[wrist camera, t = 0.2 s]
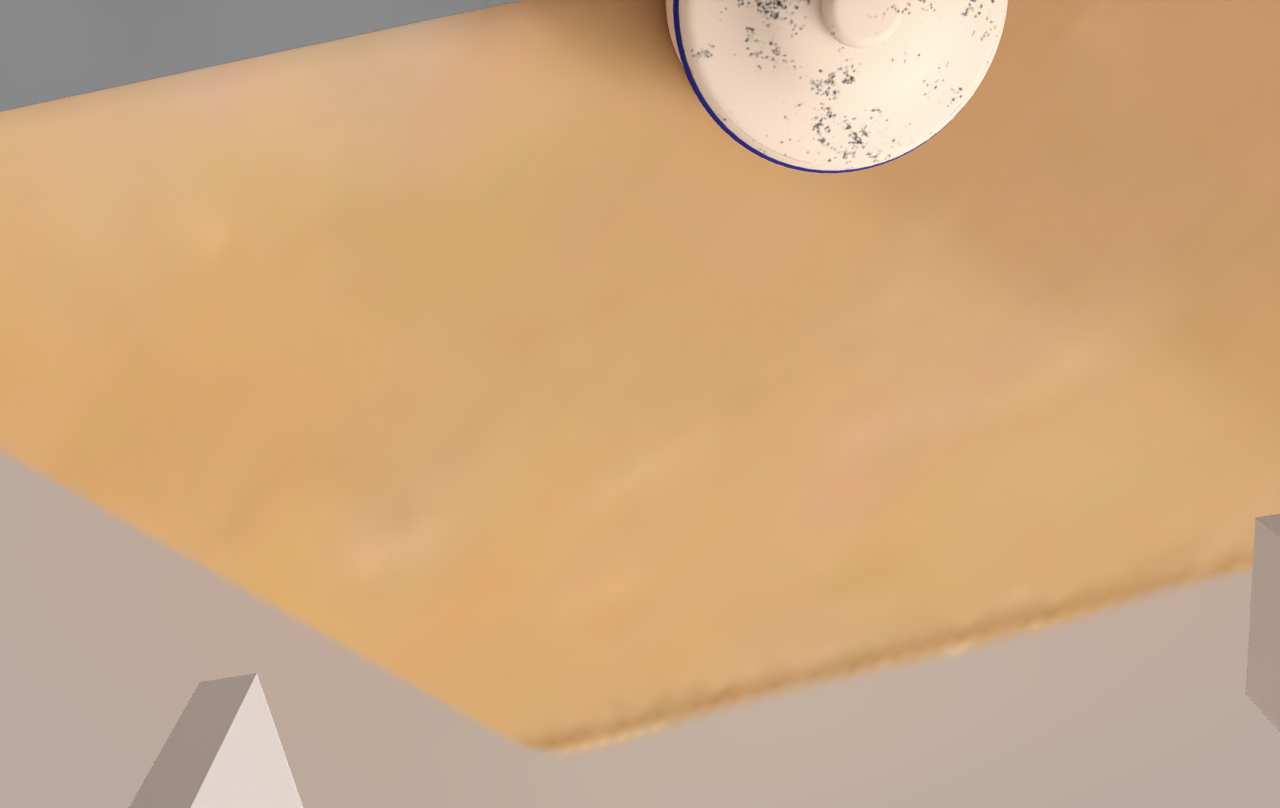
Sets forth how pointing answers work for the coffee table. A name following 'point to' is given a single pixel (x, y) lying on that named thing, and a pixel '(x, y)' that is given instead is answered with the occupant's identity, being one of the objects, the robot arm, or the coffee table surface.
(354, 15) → the mat
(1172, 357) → the coffee table surface
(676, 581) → the coffee table surface
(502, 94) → the coffee table surface
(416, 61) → the coffee table surface
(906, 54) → the teacup with lid
